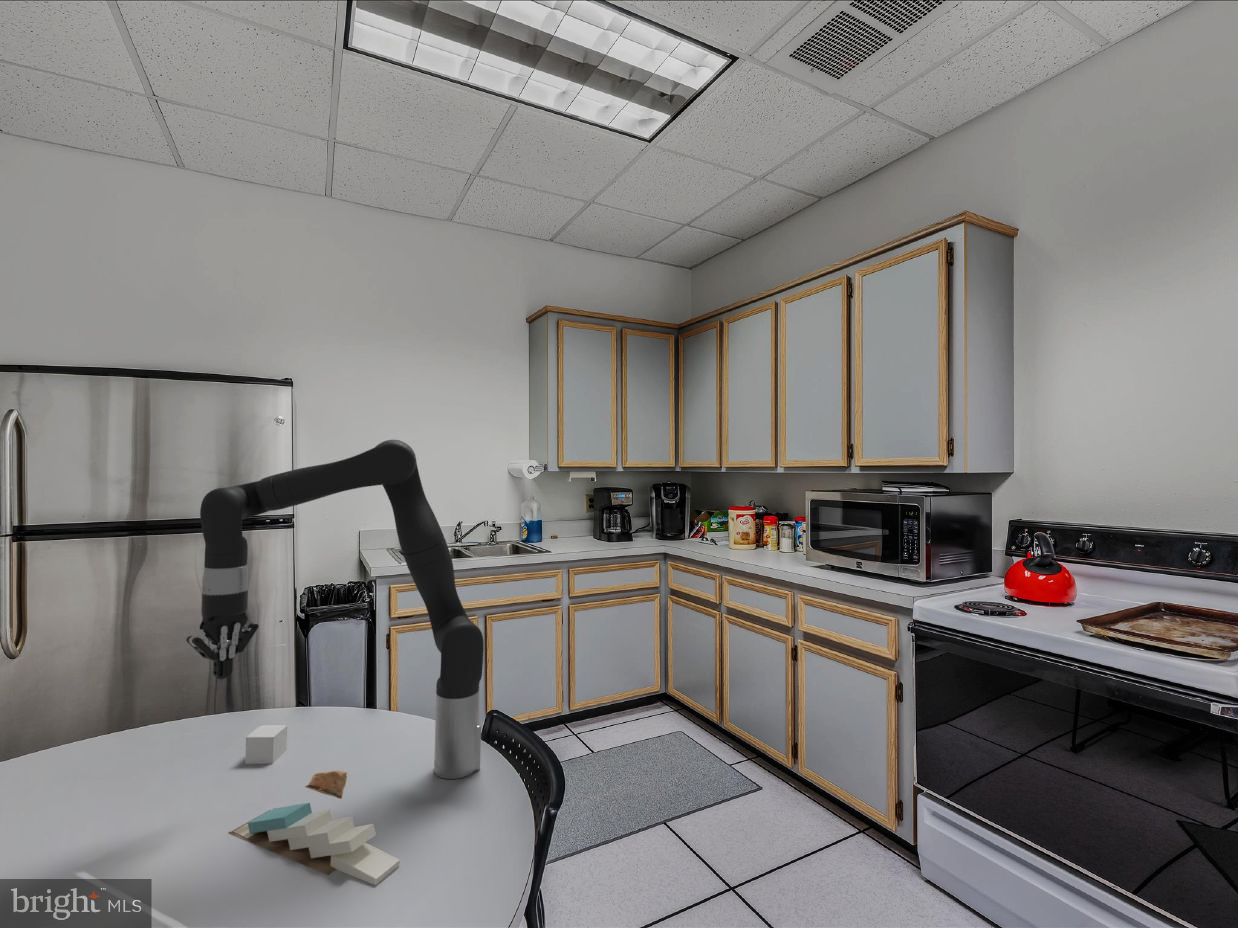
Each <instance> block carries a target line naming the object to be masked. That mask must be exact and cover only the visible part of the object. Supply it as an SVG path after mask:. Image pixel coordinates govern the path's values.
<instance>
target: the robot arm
mask: <svg viewBox="0 0 1238 928" xmlns="http://www.w3.org/2000/svg"><path fill="white" fill-rule="evenodd" d="M375 486H382V487H383V488H384V491H385V494H386V495H387V498H388V500H389V502H390V505H391V508H392V513H393V517H394V523H395V530H396V534H397V539H398V543H399V546H400V550H401V552H402V556H403V558H404V562H405V564H406V566H407V568H408V571H409V573H410V575H411V578H412V580H413V583H414V585H415V587H416V589H417V591H418V593H419V595H420V596H421V599H422V601H423V603H424V605H425V609H426V612H427V614H428V618H429V623H430V627H431V630H432V636H433V639H434V644H435V646H436V648H437V650H438V652H439V653H440V669H439V670H440V671H439V673H440V675H439V677H438V679H437V681H436V685H435V686H436V688H435V689H436V690H435V722H434V723H435V724H434V725H435V727H434V728H435V731H434V733H435V734H434V762H433V765H434V768H433V771H434V774H435V775H436V776H437V777H439V778H442V779H447V780H455V779H461V778H465V777H467V776H469V775H471V774H473V773H474V772H476V771H479V770H480V769H481V745H482V744H481V743H482V725H480V723H479V707H480V706H479V700H480V682H481V680H482V676H483V669H484V668H483V664H484V648H485V646H484V636H483V633H482V631H481V628H479V626H477V625H476V624H475V623H474V622H473V621H472V620H471V619H470V617H469V616H468V614H467V613H466V611H465V608H464V606H463V604H462V601H461V600H460V597H459V594H458V591H457V588H456V580H455V571H454V570H455V569H454V564H453V559H452V555H451V552H450V549H449V546H448V543H447V541H446V538H445V535H444V533H443V531H442V528H441V526H440V523H439V521H438V520H437V519H438V518H437V517H436V514H435V513H434V510H433V509H432V506H431V505H430V503H429V501H428V499H427V497H426V494H425V491H424V488H423V484H422V481H421V477H420V471H419V468H418V462H417V456H416V453H415V451H414V450H413V448H412V447H411V446H410V445H409V444H408V443H406V442H404V441H403V440H399V439H388V440H384V441H382V442H380V443H378V444H377V445H376V446H374V447H373V448H370V449H368V450H366V451H363V452H362V453H358V454H356V455H354V456H350V457H348V458H345V459H341V460H337V461H333V462H329V463H323V464H318V465H311V466H306V467H300V468H297V469H296V468H295V469H293V470H292V469H291V470H289V471H283V472H279V473H276V474H272V475H268V476H266V477H263V478H262V479H261V478H260V479H259V480H256V481H252V482H248V483H247V482H246V483H243V484H238V485H235V486H234V485H233V486H227V487H218V488H215V489H212V490H210V491H209V492H208V493H206V494H205V496H203V498H202V501H201V504H200V508H199V509H200V511H199V517H200V524H201V530H202V535H203V539H204V544H205V547H204V566H203V567H204V568H203V574H202V579H201V582H202V583H201V606H200V607H201V608H200V609H201V611H200V612H201V613H200V615H201V617H202V618H201V619H202V620H201V622H200V624H199V630H198V631H197V632H196V633H194V635H189V636H187V638H186V642H187V644H189V646H191V648H193V649H194V650H195V651H196V653H198V654H199V655H200V656H201V658H203V659H206V660H210V661H213V663H212V664H213V666H212V674H213V676H214V678H215V679H218V680H220V681H221V680H225V679H228V678H230V677H231V675H232V673H233V665H234V664H233V663H234V662H233V661H234V660H233V659H234V657H235V656H236V655H237V654H239V653H243V651H244V650H245V649H246V647H247V646H248V644H249V643H250V642H251V640H252V638H253V637H254V635H255V634H256V632H257V630H258V629H259V627H260V626H259V624H257V623H254V622H251V621H250V620H249V618H248V615H247V611H248V609H249V608H248V607H249V605H248V604H249V603H248V601H249V571H248V569H249V568H248V557H249V556H248V540H247V538H246V537H245V536H243V520H246V519H249V518H252V517H255V516H259V515H262V514H265V513H268V512H271V511H278V510H284V509H287V508H290V507H293V506H298V505H302V504H306V503H309V502H312V501H315V500H318V499H322V498H326V497H328V496H332V495H334V494H335V495H336V494H338V493H342V492H346V491H350V490H351V491H352V490H356V489H361V488H366V487H375ZM207 640H208V641H209V645H208V644H207V643H206V642H207Z"/></svg>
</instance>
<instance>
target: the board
mask: <svg viewBox="0 0 1238 928" xmlns="http://www.w3.org/2000/svg"><path fill="white" fill-rule="evenodd" d="M270 810H271V809H269V810H267V811H265V812H264V813H261V814H260V815H258V816H256V817H254V818H253V819H251V820H250V821H252V820H254V819H256V818H258V817H259V816H261V815H263V814H265V813H267V812H269V811H270ZM250 821H248V822H246V823H244V824H242V825H240V826H238V827H236V828H235V829H233V830H231V831H230V832H228V835H231V836H233V837H236V838H238V839H240V840H243V841H246V842H248V843H250V844H253V845H255V846H258V847H260V848H263V849H265V850H266V851H270V852H272V853H274V854H277V855H280V856H282V857H284V858H287V859H289V860H292V861H294V862H295V863H298V864H301V865H304V866H306V867H308V868H311V869H312V870H315V871H319V872H320V873H323V874H325V875H327V876H329V875H330V874H332V873H333V872H334V871H337V869H335V868H333V867H332V866H330V863H331V855H330V856H323V857H316V858H311V856H310V851H309V847H307V848H301V849H295V850H290V847H289V842H288V839H285V840H278V841H272V842H269V838H268V833H267V831H263V832H256V833H250V832H249V827H248V823H249V822H250Z"/></svg>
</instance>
